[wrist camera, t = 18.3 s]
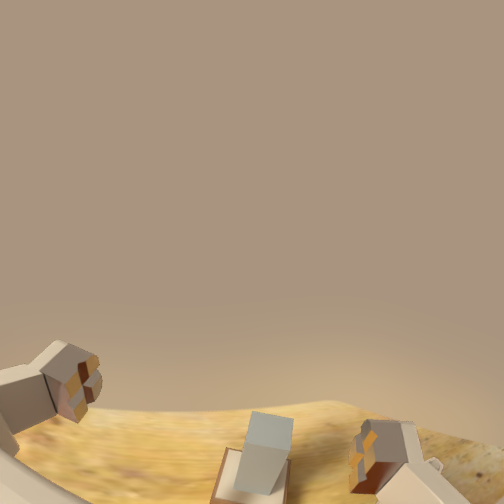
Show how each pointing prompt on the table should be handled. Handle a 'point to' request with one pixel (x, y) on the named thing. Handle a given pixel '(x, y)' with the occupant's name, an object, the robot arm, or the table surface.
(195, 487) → the table surface
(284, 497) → the plinth
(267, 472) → the grey tall block
